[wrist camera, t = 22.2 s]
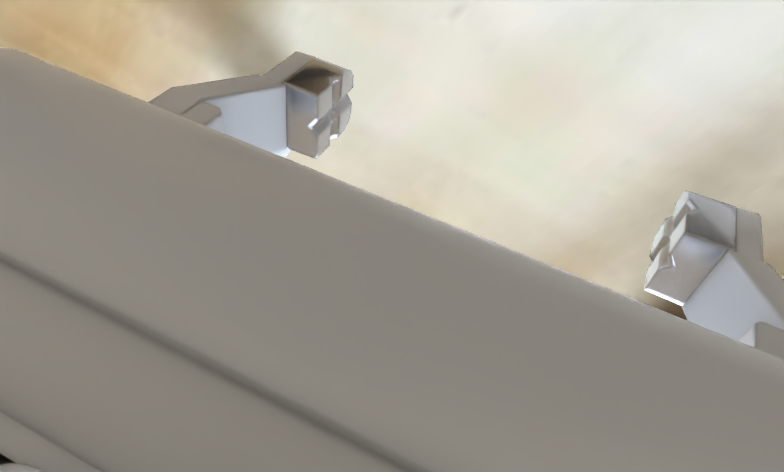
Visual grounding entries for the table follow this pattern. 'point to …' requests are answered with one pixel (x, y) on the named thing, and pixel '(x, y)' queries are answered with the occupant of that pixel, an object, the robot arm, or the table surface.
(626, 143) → the table surface
